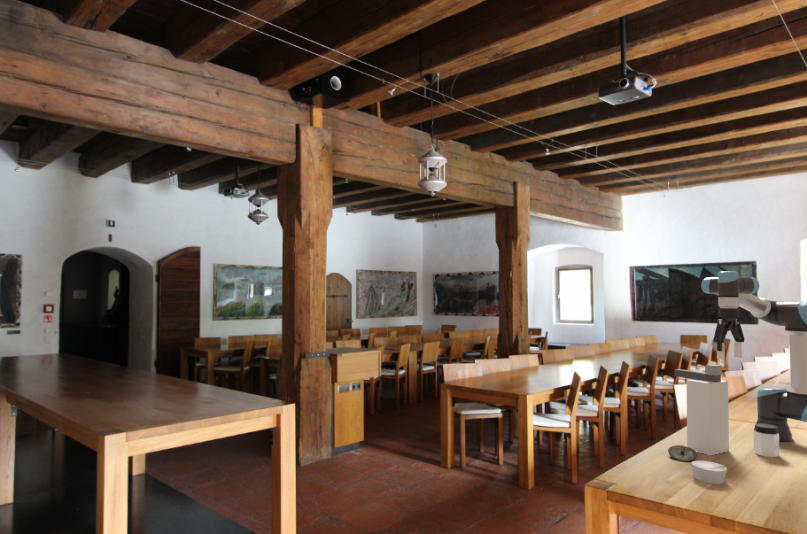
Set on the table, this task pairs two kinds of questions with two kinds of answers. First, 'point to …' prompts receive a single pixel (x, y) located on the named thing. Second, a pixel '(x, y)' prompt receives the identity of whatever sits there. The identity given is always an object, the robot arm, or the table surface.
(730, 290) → the robot arm
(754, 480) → the table surface
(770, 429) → the jar
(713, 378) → the handle bar
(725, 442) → the stand
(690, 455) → the lid
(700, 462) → the ramekin
